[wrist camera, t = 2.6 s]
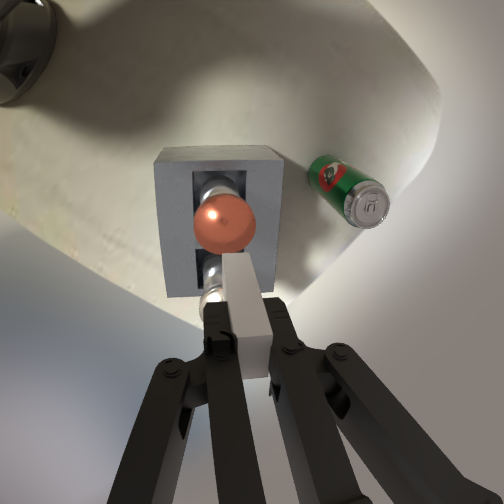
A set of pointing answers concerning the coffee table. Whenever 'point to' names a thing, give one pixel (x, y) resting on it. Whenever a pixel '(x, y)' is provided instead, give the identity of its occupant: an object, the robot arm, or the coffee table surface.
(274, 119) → the coffee table surface
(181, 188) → the housing
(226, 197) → the orange light bulb
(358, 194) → the soda can
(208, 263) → the white light bulb
